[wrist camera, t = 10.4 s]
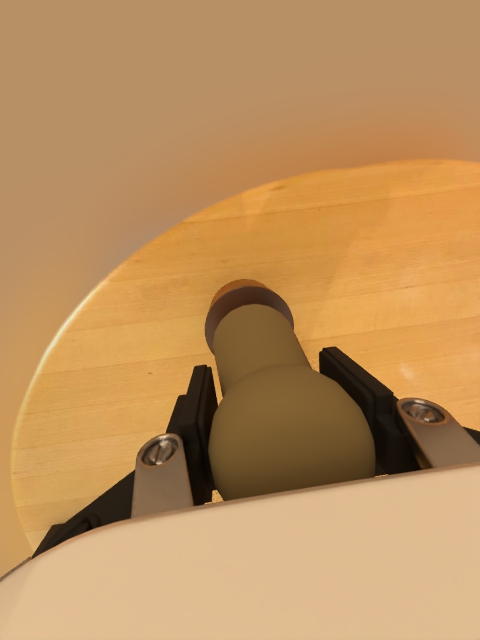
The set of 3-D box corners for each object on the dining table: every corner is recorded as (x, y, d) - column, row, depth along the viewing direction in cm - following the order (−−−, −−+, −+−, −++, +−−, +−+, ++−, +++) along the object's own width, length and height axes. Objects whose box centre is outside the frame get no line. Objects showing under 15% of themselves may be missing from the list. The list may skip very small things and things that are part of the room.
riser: (199, 331, 25) (191, 353, 19) (226, 267, 23) (226, 270, 17) (260, 355, 26) (270, 382, 20) (289, 296, 24) (309, 307, 19)
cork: (201, 367, 17) (157, 556, 6) (229, 291, 15) (234, 358, 5) (275, 390, 17) (353, 590, 7) (307, 320, 16) (464, 431, 5)
